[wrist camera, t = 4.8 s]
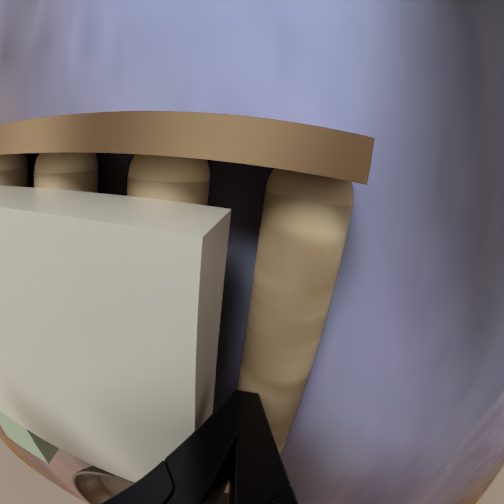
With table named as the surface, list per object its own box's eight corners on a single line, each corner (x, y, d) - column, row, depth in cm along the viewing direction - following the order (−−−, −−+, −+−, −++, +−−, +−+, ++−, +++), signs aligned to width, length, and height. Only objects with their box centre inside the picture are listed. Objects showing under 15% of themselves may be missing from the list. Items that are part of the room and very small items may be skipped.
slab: (231, 209, 7) (203, 236, 5) (209, 453, 11) (196, 501, 8) (-64, 182, 9) (-98, 193, 6) (-30, 345, 12) (-54, 365, 9)
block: (59, 387, 15) (25, 428, 11) (75, 425, 16) (48, 463, 12) (18, 365, 15) (-15, 398, 11) (35, 404, 16) (7, 436, 12)
